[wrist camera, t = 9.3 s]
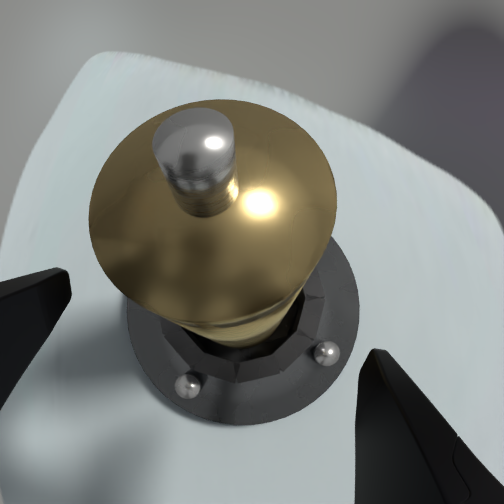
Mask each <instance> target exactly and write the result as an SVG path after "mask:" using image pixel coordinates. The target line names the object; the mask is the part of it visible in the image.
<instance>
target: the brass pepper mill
mask: <svg viewBox="0 0 504 504" xmlns="http://www.w3.org/2000/svg"><path fill="white" fill-rule="evenodd" d="M336 210H337V193H336V187H335V181H334V177H333V174H332V171H331V168H330V165H329V163H328V161H327V159H326V157H325V155H324V153H323V152H322V150H321V149H320V147H319V146H318V145H317V143H316V142H315V141H314V139H313V138H312V137H311V136H310V135H309V134H308V133H307V132H306V131H305V130H304V129H303V128H301V127H300V126H299V125H298V124H297V123H295V122H294V121H292V120H291V119H289V118H288V117H286V116H284V115H282V114H280V113H278V112H276V111H274V110H272V109H270V108H267V107H264V106H261V105H258V104H254V103H249V102H245V101H237V100H219V99H218V100H204V101H198V102H193V103H188V104H185V105H181V106H178V107H175V108H172V109H170V110H167V111H165V112H163V113H161V114H159V115H157V116H155V117H153V118H151V119H149V120H148V121H146V122H145V123H143V124H142V125H140V126H139V127H137V128H136V129H135V130H134V131H132V132H131V133H130V134H129V135H128V136H127V137H126V138H125V139H124V140H123V141H122V142H121V143H120V144H119V145H118V146H117V147H116V148H115V150H114V151H113V152H112V153H111V155H110V156H109V158H108V159H107V161H106V162H105V164H104V165H103V167H102V169H101V171H100V173H99V175H98V177H97V180H96V183H95V185H94V188H93V191H92V196H91V201H90V206H89V232H90V238H91V242H92V247H93V250H94V252H95V255H96V257H97V260H98V262H99V264H100V266H101V267H102V269H103V271H104V272H105V274H106V275H107V277H108V278H109V279H110V280H111V282H112V283H113V284H114V285H115V286H116V287H117V288H118V289H119V290H120V291H121V292H122V293H123V294H124V295H125V296H127V297H128V298H129V299H131V300H132V301H134V302H135V303H137V304H138V305H140V306H142V307H143V308H145V309H147V310H149V311H151V312H153V313H155V314H157V315H159V316H161V317H163V318H165V319H167V320H169V321H171V322H174V323H176V324H178V325H180V326H182V327H184V328H186V329H188V330H190V331H192V332H195V333H197V334H199V335H201V336H203V337H206V338H208V339H210V340H212V341H214V342H217V343H219V344H221V345H224V346H226V347H230V348H235V349H246V348H251V347H254V346H257V345H259V344H261V343H263V342H264V341H266V340H267V339H268V338H269V337H270V336H271V335H272V334H273V333H274V331H275V330H276V328H277V327H278V325H279V324H280V322H281V321H282V319H283V318H284V316H285V315H286V313H287V311H288V310H289V308H290V307H291V305H292V304H293V302H294V300H295V299H296V297H297V296H298V294H299V292H300V291H301V289H302V288H303V286H304V284H305V283H306V281H307V279H308V278H309V276H310V275H311V273H312V271H313V270H314V268H315V266H316V265H317V263H318V261H319V260H320V258H321V256H322V255H323V253H324V251H325V249H326V247H327V244H328V242H329V240H330V238H331V234H332V231H333V227H334V224H335V218H336Z"/></svg>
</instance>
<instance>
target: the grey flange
mask: <svg viewBox="0 0 504 504" xmlns="http://www.w3.org/2000/svg"><path fill="white" fill-rule="evenodd" d="M359 307H360V305H359V296H358V289H357V285H356V281H355V277H354V274H353V272H352V269H351V267H350V264H349V262H348V260H347V258H346V257H345V255H344V253H343V251H342V250H341V248H340V247H339V245H338V244H337V243H336V241H335V240H334V239H333V238H332V237H331V238H330V240H329V242H328V244H327V247H326V249H325V251H324V253H323V255H322V256H321V258H320V260H319V261H318V263H317V265H316V266H315V268H314V270H313V271H312V273H311V275H310V276H309V278H308V279H307V281H306V283H305V284H304V286H303V288H302V289H301V291H300V292H299V294H298V296H297V297H296V299H295V300H294V302H293V304H292V305H291V307H290V308H289V310H288V311H287V313H286V315H285V316H284V318H283V319H282V321H281V322H280V324H279V325H278V327H277V328H276V330H275V331H274V333H273V334H272V335H271V336H270V337H269V338H268V339H267V340H266V341H264V342H263V343H261V344H259V345H257V346H254V347H251V348H246V349H235V348H230V347H226V346H224V345H221V344H219V343H217V342H214V341H212V340H210V339H208V338H206V337H203V336H201V335H199V334H197V333H195V332H192V331H190V330H188V329H186V328H184V327H182V326H180V325H178V324H176V323H174V322H171V321H169V320H167V319H165V318H163V317H161V316H159V315H157V314H155V313H153V312H151V311H149V310H147V309H145V308H143V307H142V306H140V305H138V304H137V303H135V302H134V301H132V300H131V299H129V298H128V301H127V320H128V330H129V334H130V339H131V343H132V346H133V348H134V351H135V354H136V356H137V359H138V361H139V362H140V364H141V366H142V368H143V370H144V372H145V373H146V374H147V376H148V377H149V378H150V380H151V381H152V382H153V384H154V385H155V386H156V387H157V388H158V389H159V390H160V391H161V392H162V393H163V394H164V395H165V396H166V397H167V398H169V399H170V400H171V401H173V402H174V403H175V404H176V405H178V406H180V407H181V408H183V409H185V410H186V411H188V412H190V413H192V414H194V415H197V416H199V417H202V418H204V419H207V420H211V421H215V422H219V423H224V424H233V425H255V424H261V423H267V422H272V421H275V420H278V419H281V418H284V417H287V416H289V415H291V414H294V413H296V412H298V411H300V410H302V409H303V408H305V407H306V406H308V405H309V404H311V403H312V402H314V401H315V400H316V399H317V398H319V397H320V396H321V395H322V394H323V393H324V392H325V391H326V390H327V389H328V388H329V387H330V386H331V385H332V384H333V382H334V381H335V380H336V379H337V378H338V376H339V374H340V373H341V371H342V370H343V368H344V367H345V365H346V363H347V361H348V359H349V357H350V354H351V352H352V350H353V347H354V343H355V340H356V337H357V331H358V325H359Z"/></svg>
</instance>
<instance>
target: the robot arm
mask: <svg viewBox="0 0 504 504" xmlns="http://www.w3.org/2000/svg"><path fill="white" fill-rule="evenodd" d="M71 296H72V291H71V285H70V279H69V274H68V272H67V271H66V270H64V269H61V268H57V267H56V268H52V269H48V270H44V271H40V272H36V273H32V274H29V275H25V276H21V277H17V278H14V279H10V280H6V281H2V282H0V410H1V409H2V407H3V405H4V403H5V402H6V400H7V399H8V397H9V395H10V394H11V392H12V390H13V389H14V387H15V386H16V384H17V382H18V381H19V379H20V378H21V376H22V375H23V373H24V372H25V370H26V369H27V367H28V366H29V364H30V363H31V361H32V360H33V358H34V357H35V355H36V354H37V352H38V351H39V350H40V348H41V347H42V345H43V344H44V342H45V341H46V339H47V338H48V337H49V335H50V333H51V332H52V330H53V328H54V327H55V325H56V323H57V321H58V320H59V318H60V316H61V315H62V313H63V311H64V310H65V308H66V307H67V305H68V303H69V302H70V300H71ZM354 504H504V486H503V485H502V484H501V483H500V482H499V481H498V480H497V479H496V478H495V477H494V476H493V475H492V474H491V473H490V472H489V471H488V469H487V468H486V467H485V466H484V465H483V464H482V463H481V462H480V461H479V460H478V459H477V457H476V456H475V455H474V454H473V453H472V451H471V450H470V449H469V448H468V447H467V445H466V444H465V443H464V442H463V440H462V439H461V438H460V437H459V436H458V437H457V433H456V432H455V431H454V429H453V428H452V427H451V426H450V425H449V423H448V422H447V421H446V420H445V418H444V417H443V416H442V415H441V414H440V412H439V411H438V410H437V409H436V408H435V406H434V405H433V404H432V403H431V402H430V400H429V399H428V398H427V397H426V396H425V394H424V393H423V392H422V391H421V390H420V389H419V387H418V386H417V385H416V384H415V383H414V382H413V380H412V379H411V378H410V377H409V376H408V374H407V373H406V372H405V371H404V370H403V369H402V368H401V366H400V365H399V364H398V363H397V362H396V361H395V359H394V358H393V357H392V356H391V355H390V354H389V353H388V352H387V351H386V350H382V349H376V348H374V349H372V350H371V351H370V352H369V354H368V356H367V358H366V360H365V362H364V364H363V366H362V368H361V370H360V373H359V379H358V394H357V407H356V419H355V503H354Z"/></svg>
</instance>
